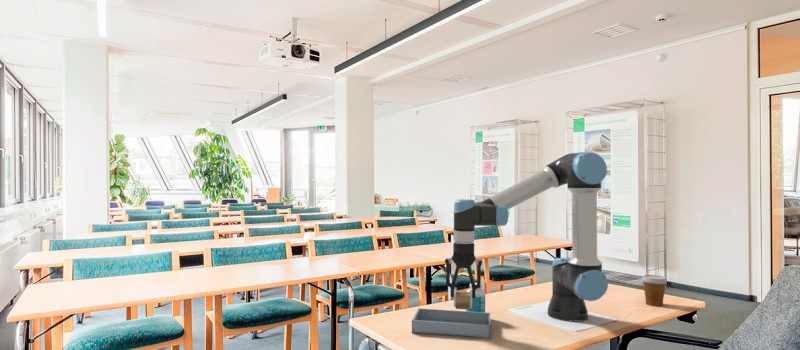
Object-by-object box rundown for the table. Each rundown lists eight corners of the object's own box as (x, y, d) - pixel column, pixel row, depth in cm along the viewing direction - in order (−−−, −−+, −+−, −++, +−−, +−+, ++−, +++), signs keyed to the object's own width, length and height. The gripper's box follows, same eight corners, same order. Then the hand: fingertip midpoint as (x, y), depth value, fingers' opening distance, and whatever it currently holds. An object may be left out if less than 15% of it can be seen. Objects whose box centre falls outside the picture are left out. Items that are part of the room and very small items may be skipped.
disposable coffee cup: (643, 300, 209) (643, 273, 209) (668, 303, 204) (668, 276, 204) (640, 305, 202) (640, 277, 202) (665, 308, 196) (665, 280, 196)
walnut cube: (469, 309, 165) (469, 295, 165) (455, 308, 166) (455, 294, 166) (470, 305, 170) (470, 292, 170) (456, 304, 171) (456, 291, 171)
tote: (490, 324, 174) (490, 312, 174) (490, 338, 159) (490, 325, 159) (418, 319, 179) (418, 308, 179) (411, 333, 164) (411, 320, 164)
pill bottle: (485, 322, 176) (485, 286, 176) (465, 320, 178) (465, 285, 178) (485, 316, 184) (485, 282, 184) (466, 315, 185) (466, 281, 185)
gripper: (489, 241, 170) (488, 305, 170) (440, 239, 173) (439, 302, 173) (489, 244, 162) (488, 311, 162) (437, 242, 166) (436, 307, 166)
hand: (462, 306), depth 168 cm, fingers closed on walnut cube, 5 cm apart
